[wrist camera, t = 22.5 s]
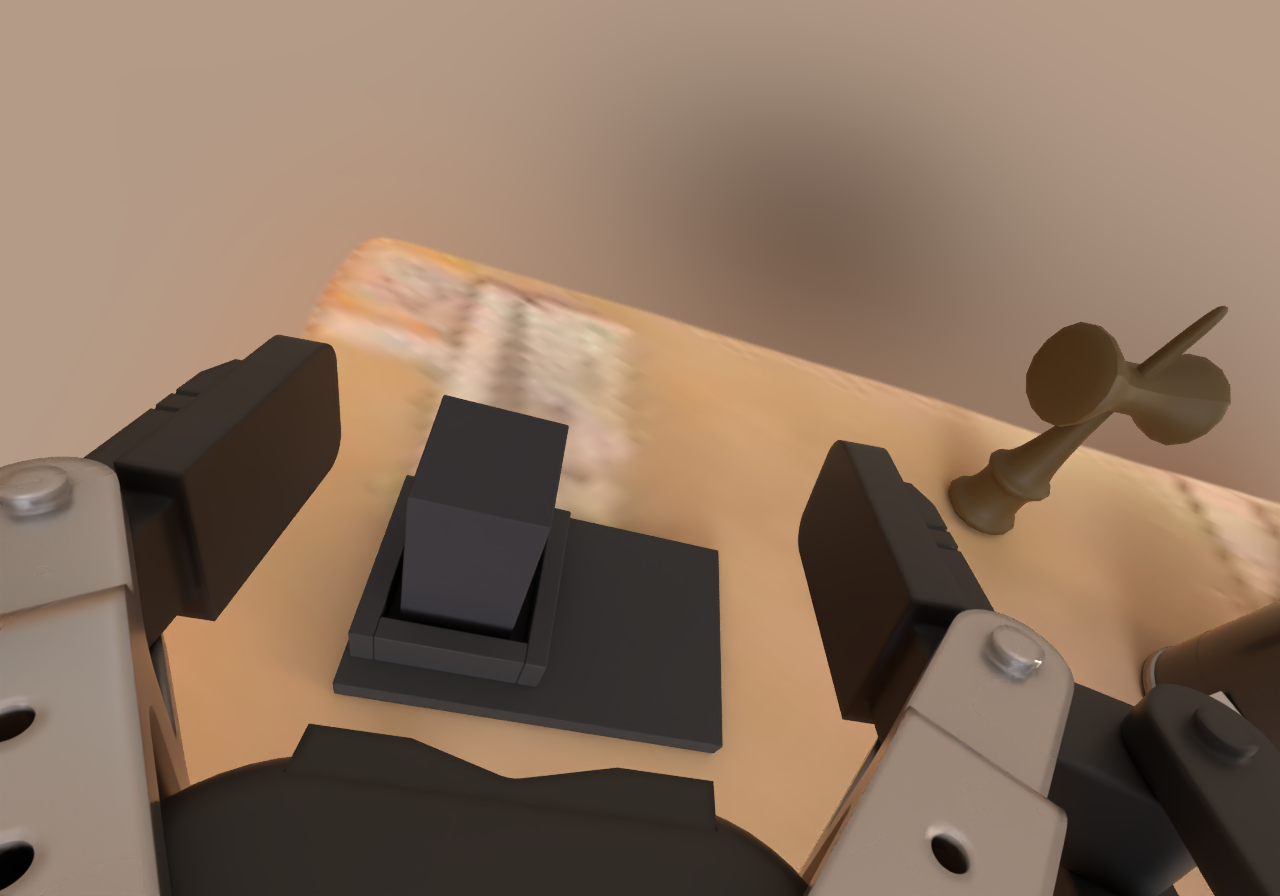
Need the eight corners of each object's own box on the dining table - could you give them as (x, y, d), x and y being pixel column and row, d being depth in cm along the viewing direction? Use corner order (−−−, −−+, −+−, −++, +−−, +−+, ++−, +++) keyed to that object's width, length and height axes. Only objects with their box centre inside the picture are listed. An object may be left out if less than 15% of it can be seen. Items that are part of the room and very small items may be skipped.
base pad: (711, 560, 40) (735, 528, 37) (713, 753, 32) (744, 732, 30) (405, 493, 36) (408, 453, 34) (333, 693, 29) (328, 662, 26)
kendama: (908, 469, 50) (1128, 252, 36) (1011, 486, 53) (1256, 290, 38) (933, 536, 47) (1190, 325, 32) (1042, 552, 49) (1328, 363, 34)
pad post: (524, 557, 35) (569, 424, 27) (506, 648, 31) (550, 528, 23) (427, 538, 34) (443, 393, 26) (398, 629, 30) (406, 497, 22)
